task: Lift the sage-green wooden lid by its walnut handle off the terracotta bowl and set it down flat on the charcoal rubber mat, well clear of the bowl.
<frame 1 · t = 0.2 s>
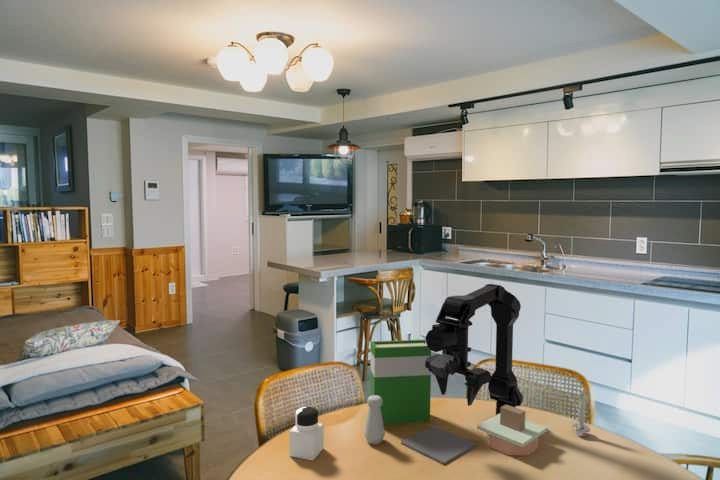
hand: (456, 399, 132), 14 cm above the table, tool pointing down, fingers open, 9 cm apart
medicine bottle: (306, 453, 132), on the table
hardback book: (399, 418, 153), on the table
bowl: (511, 443, 137), on the table
screw: (580, 435, 143), on the table
salt shaker: (374, 441, 138), on the table
mat: (438, 444, 136), on the table
lid: (512, 429, 137), point 4 cm above the table, touching bowl
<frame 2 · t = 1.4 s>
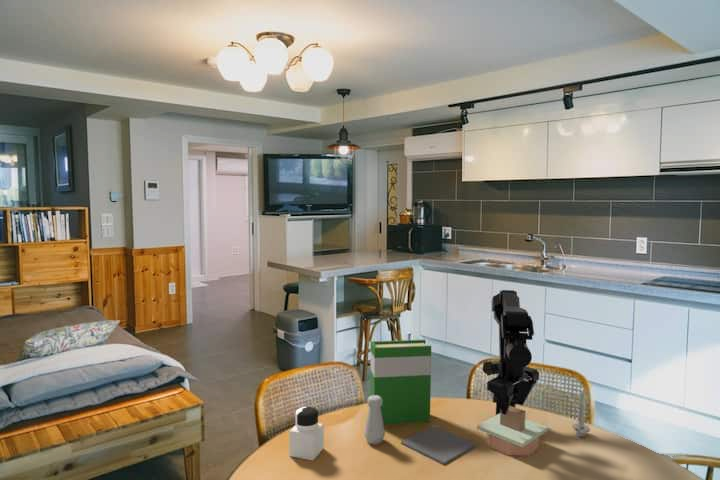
hand: (512, 409, 137), 10 cm above the table, tool pointing down, fingers open, 9 cm apart
nothing on the table moved.
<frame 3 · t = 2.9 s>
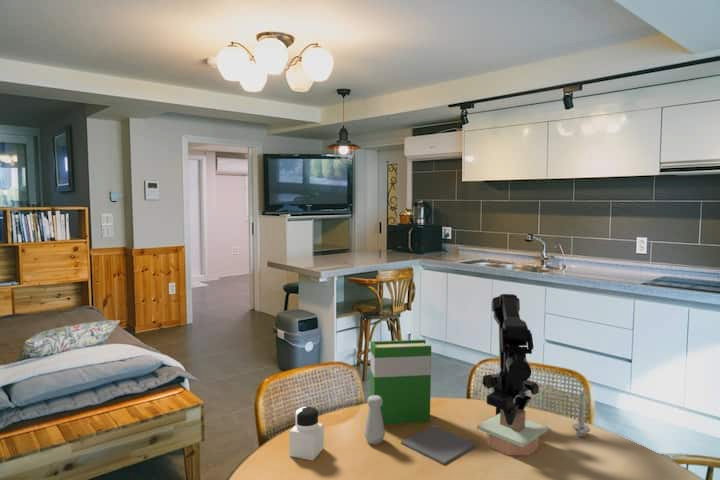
hand: (512, 422, 137), 6 cm above the table, tool pointing down, fingers closed on lid, 3 cm apart
lid: (512, 429, 137), point 4 cm above the table, touching bowl, gripper
everything else where it was.
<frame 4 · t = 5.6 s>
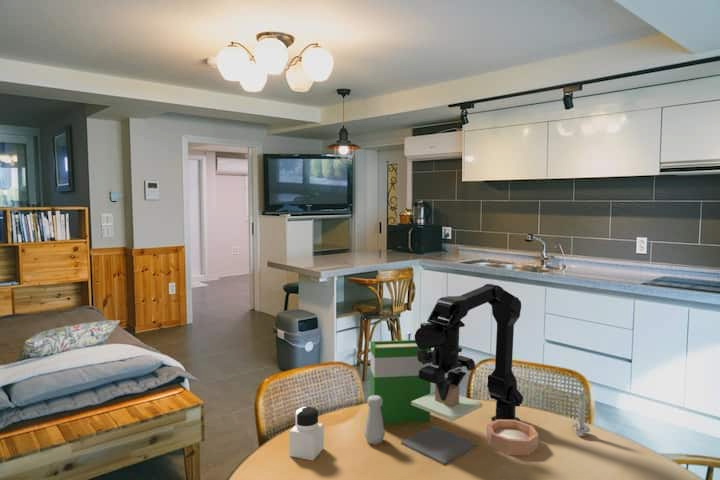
hand: (446, 398, 135), 13 cm above the table, tool pointing down, fingers closed on lid, 3 cm apart
lid: (446, 405, 135), point 11 cm above the table, touching gripper
everything else where it was.
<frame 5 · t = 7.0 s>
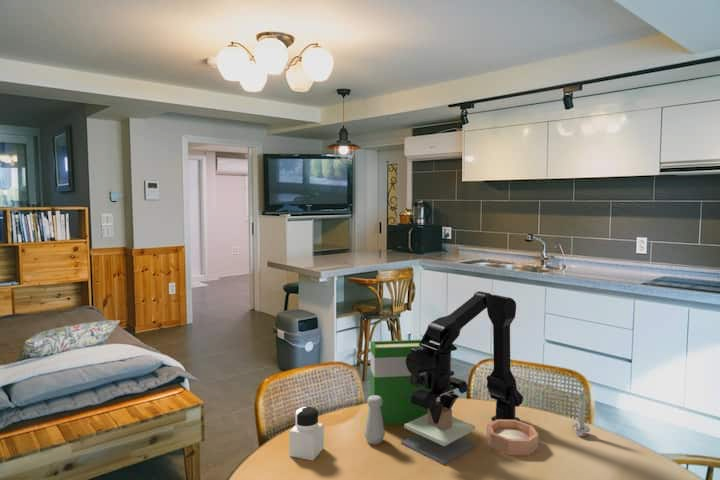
hand: (439, 421, 136), 7 cm above the table, tool pointing down, fingers closed on lid, 3 cm apart
lid: (439, 428, 136), point 5 cm above the table, touching gripper
everything else where it was.
when the fingers open (4 cm above the table, at t = 8.2 s): lid stays where it is, resting on mat.
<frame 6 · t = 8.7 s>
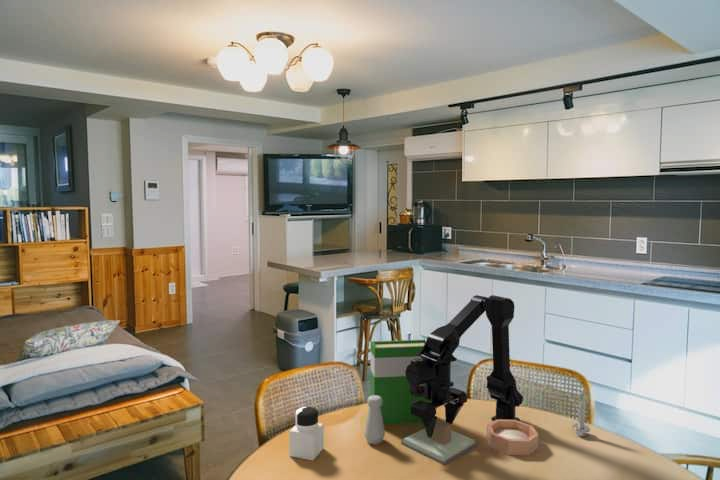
hand: (439, 432, 136), 4 cm above the table, tool pointing down, fingers open, 8 cm apart
lid: (439, 442, 136), point 1 cm above the table, touching mat
everything else where it was.
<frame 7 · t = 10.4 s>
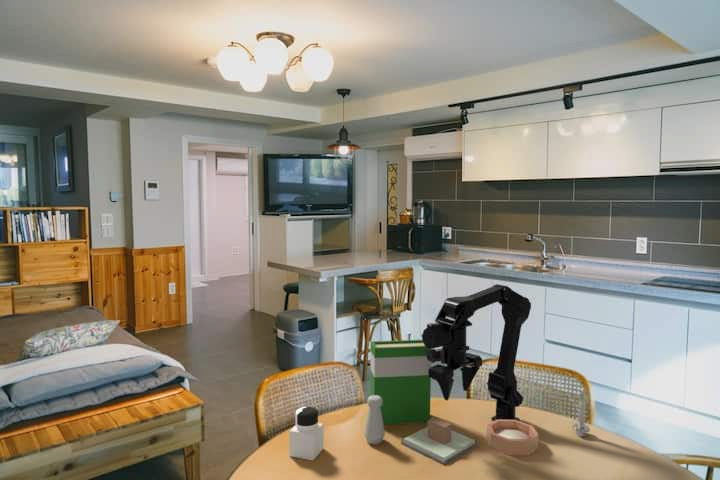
hand: (456, 395, 140), 12 cm above the table, tool pointing down, fingers open, 9 cm apart
nothing on the table moved.
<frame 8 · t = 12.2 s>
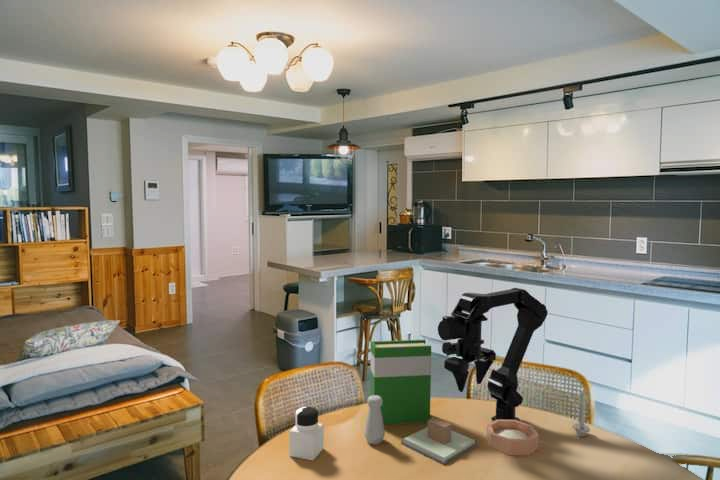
hand: (469, 387, 144), 13 cm above the table, tool pointing down, fingers open, 9 cm apart
nothing on the table moved.
at the end: lid inside the target area on the mat (0.1 cm from its centre), point 0.6 cm above the mat's base; lid tilted 0°; lid touching mat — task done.
